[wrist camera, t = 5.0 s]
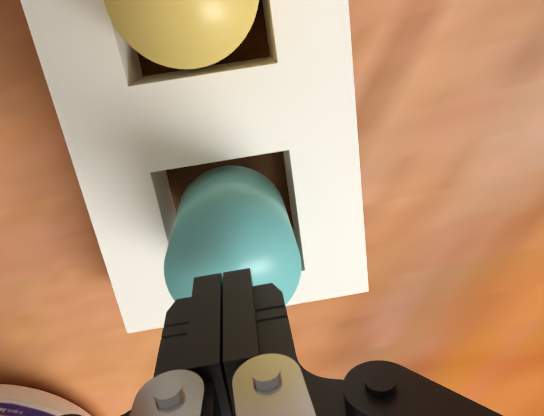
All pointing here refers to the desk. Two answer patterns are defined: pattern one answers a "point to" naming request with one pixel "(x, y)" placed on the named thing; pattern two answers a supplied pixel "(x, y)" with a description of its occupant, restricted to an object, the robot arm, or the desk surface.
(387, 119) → the desk surface
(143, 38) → the ochre button
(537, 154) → the desk surface
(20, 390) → the supplement tub
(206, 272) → the teal button
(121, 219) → the panel
